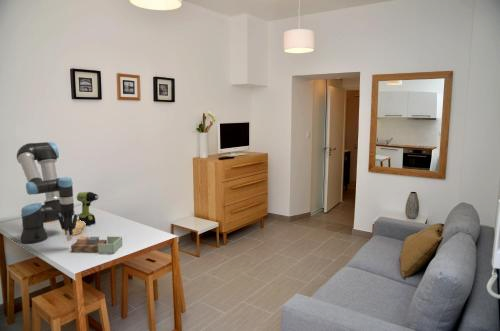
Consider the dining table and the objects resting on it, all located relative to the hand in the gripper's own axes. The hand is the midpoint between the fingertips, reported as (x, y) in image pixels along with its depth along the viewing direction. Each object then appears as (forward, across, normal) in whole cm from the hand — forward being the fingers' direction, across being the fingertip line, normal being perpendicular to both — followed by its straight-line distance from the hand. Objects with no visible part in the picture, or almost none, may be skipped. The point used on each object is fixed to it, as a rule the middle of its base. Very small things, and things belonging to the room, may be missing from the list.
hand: (69, 239), depth 221 cm
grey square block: (+1, +15, 0) cm, 15 cm away
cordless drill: (+6, -9, +44) cm, 46 cm away
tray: (+6, +26, 0) cm, 26 cm away
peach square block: (+1, +8, 0) cm, 9 cm away
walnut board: (+5, +12, 0) cm, 14 cm away
